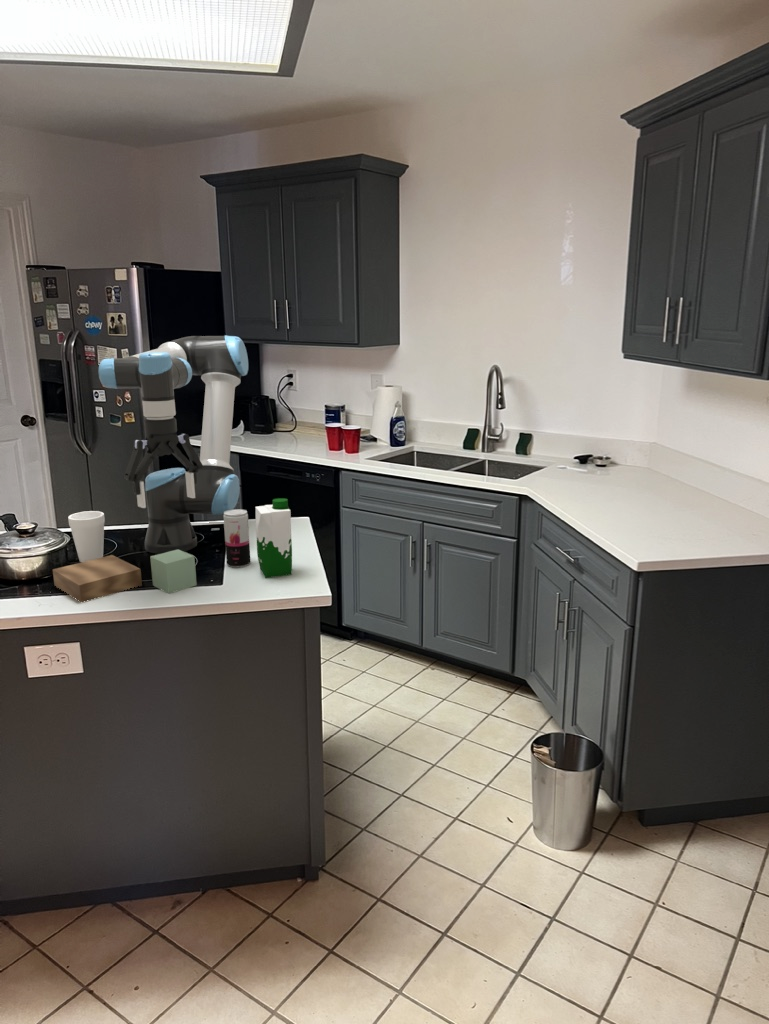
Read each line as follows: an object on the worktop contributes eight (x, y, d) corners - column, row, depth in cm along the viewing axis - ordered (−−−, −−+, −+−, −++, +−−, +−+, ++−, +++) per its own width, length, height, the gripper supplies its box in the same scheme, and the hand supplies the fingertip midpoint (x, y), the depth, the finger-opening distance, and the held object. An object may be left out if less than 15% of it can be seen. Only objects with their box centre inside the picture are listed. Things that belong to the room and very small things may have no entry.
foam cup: (71, 566, 209) (66, 521, 206) (75, 555, 218) (69, 512, 214) (107, 562, 212) (102, 518, 208) (109, 552, 220) (105, 509, 217)
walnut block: (113, 572, 205) (111, 554, 204) (142, 587, 194) (140, 568, 193) (54, 587, 194) (52, 569, 193) (81, 604, 183) (79, 585, 182)
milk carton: (295, 575, 200) (292, 502, 195) (262, 579, 197) (258, 506, 192) (288, 565, 208) (285, 495, 203) (255, 569, 205) (251, 498, 200)
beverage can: (239, 569, 205) (236, 516, 201) (221, 565, 209) (218, 513, 205) (255, 562, 211) (252, 510, 207) (237, 558, 214) (234, 507, 210)
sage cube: (180, 577, 199) (178, 549, 197) (196, 585, 194) (194, 556, 192) (153, 585, 194) (150, 556, 192) (168, 593, 189) (165, 563, 186)
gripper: (196, 411, 193) (202, 491, 199) (103, 421, 176) (112, 508, 182) (212, 413, 188) (218, 495, 194) (118, 424, 171) (127, 514, 177)
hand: (167, 502), depth 188 cm, fingers open, 13 cm apart
